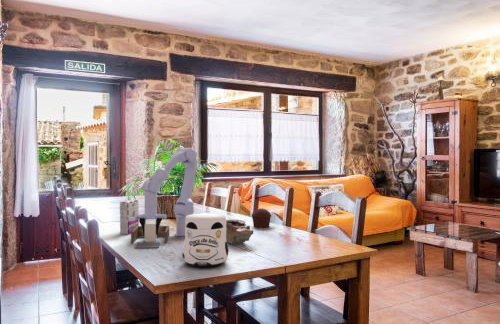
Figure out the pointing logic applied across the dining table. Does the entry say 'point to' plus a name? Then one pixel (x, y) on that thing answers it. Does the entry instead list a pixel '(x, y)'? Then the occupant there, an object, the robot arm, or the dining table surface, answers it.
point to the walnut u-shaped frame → (139, 233)
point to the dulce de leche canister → (205, 240)
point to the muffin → (261, 218)
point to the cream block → (150, 231)
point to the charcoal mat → (147, 245)
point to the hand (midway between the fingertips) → (150, 234)
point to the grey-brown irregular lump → (237, 231)
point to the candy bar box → (128, 216)
